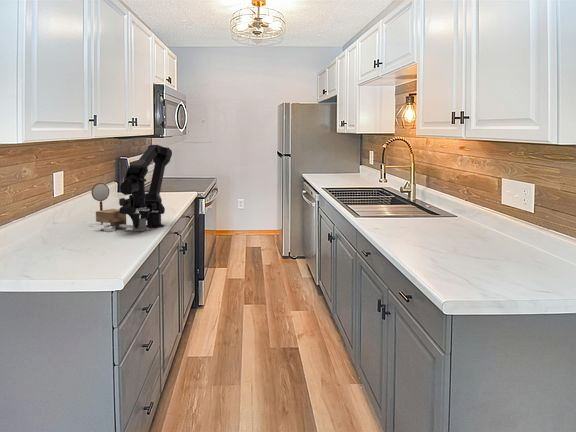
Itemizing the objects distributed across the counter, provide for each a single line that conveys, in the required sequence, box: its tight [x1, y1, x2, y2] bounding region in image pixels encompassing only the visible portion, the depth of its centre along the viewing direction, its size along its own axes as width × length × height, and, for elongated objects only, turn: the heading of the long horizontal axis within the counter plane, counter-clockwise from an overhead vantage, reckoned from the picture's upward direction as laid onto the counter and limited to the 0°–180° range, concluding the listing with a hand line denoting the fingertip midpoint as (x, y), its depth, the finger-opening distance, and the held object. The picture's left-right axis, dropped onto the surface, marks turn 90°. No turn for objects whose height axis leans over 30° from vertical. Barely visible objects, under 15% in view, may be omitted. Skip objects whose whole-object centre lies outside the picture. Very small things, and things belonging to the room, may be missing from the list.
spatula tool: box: [119, 217, 147, 231], centre depth 243 cm, size 4×13×5 cm, turn 64°
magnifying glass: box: [91, 182, 110, 225], centre depth 257 cm, size 9×2×20 cm, turn 132°
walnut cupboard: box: [95, 208, 127, 230], centre depth 246 cm, size 11×8×9 cm
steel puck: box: [103, 224, 117, 233], centre depth 243 cm, size 5×5×2 cm
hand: (139, 227), depth 242 cm, fingers closed on spatula tool, 4 cm apart
